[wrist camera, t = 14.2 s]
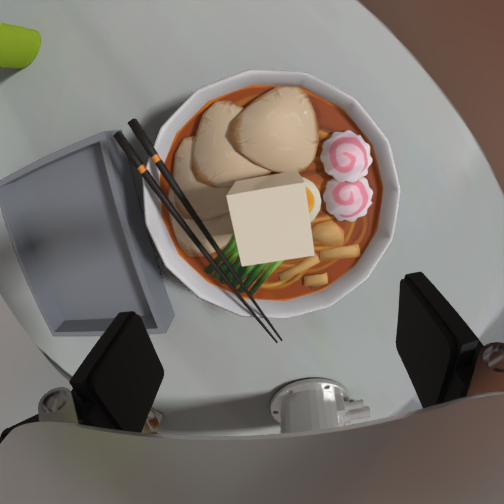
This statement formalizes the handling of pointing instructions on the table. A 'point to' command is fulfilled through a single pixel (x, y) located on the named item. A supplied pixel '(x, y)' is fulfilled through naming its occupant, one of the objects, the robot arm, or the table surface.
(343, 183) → the ramen bowl
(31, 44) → the soap dispenser
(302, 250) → the tan wooden cube
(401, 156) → the table surface
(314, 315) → the table surface
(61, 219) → the parts tray
